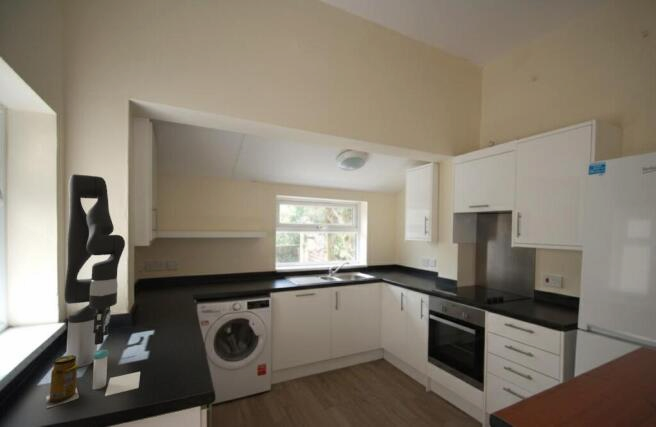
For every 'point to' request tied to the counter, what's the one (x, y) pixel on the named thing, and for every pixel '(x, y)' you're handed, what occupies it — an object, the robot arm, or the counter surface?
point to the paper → (123, 383)
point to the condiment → (63, 381)
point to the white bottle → (100, 369)
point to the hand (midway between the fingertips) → (101, 339)
